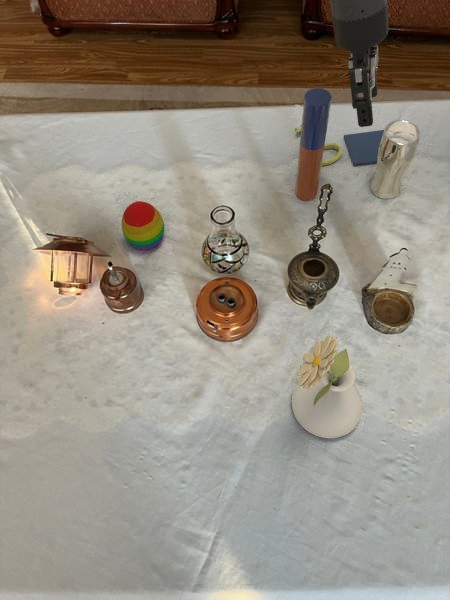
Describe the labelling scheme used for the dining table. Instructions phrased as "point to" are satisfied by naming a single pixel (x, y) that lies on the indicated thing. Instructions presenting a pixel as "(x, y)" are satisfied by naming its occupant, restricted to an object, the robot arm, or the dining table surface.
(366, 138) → the blue tile
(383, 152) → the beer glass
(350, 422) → the flower in vase
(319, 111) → the blue canister
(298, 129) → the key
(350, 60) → the robot arm
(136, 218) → the decorative egg
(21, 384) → the dining table surface
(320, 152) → the terracotta pillar
